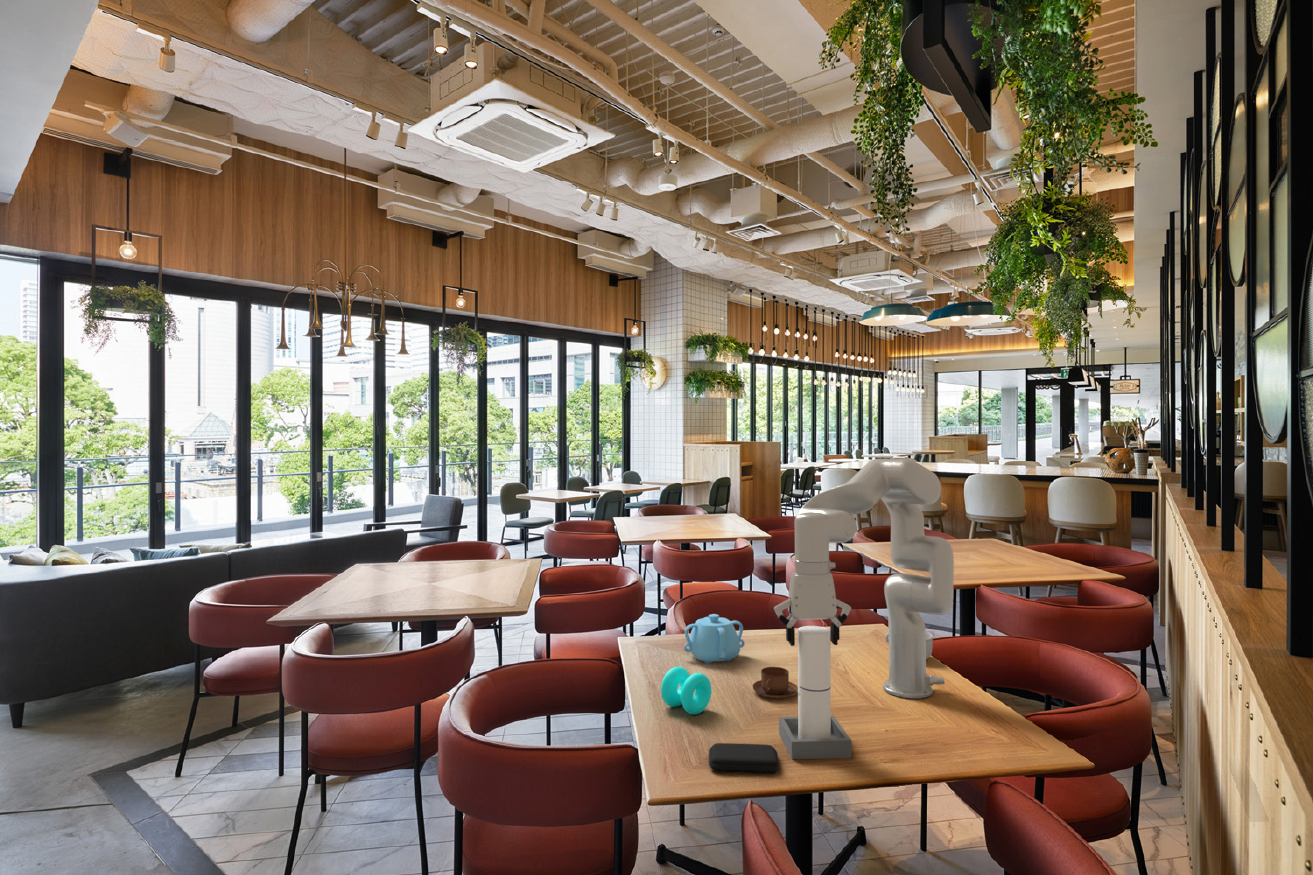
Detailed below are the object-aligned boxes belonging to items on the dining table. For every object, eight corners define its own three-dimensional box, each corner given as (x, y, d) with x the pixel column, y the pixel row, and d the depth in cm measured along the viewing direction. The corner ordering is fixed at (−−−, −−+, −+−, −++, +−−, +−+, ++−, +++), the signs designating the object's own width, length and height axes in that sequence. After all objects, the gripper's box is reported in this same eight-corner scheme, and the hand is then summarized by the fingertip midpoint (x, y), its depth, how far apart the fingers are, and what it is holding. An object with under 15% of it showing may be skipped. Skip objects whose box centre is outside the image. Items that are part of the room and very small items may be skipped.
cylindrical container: (812, 750, 150) (812, 636, 150) (791, 737, 157) (791, 628, 156) (837, 743, 154) (837, 632, 153) (816, 731, 160) (815, 624, 160)
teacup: (936, 656, 215) (936, 631, 215) (929, 666, 206) (929, 640, 206) (890, 649, 223) (890, 624, 223) (882, 659, 214) (881, 633, 214)
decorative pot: (721, 670, 205) (721, 625, 205) (678, 659, 215) (678, 616, 215) (749, 656, 218) (749, 613, 218) (707, 647, 228) (707, 605, 228)
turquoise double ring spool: (685, 698, 183) (685, 661, 183) (714, 709, 176) (713, 670, 176) (658, 709, 176) (658, 670, 176) (687, 720, 169) (687, 680, 169)
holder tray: (833, 731, 162) (833, 715, 162) (851, 757, 149) (851, 740, 149) (779, 733, 161) (778, 717, 161) (791, 759, 148) (791, 741, 148)
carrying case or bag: (776, 753, 152) (709, 751, 153) (776, 739, 152) (709, 737, 153) (780, 777, 141) (708, 775, 142) (780, 762, 141) (708, 760, 142)
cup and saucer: (797, 703, 179) (797, 680, 179) (751, 700, 182) (751, 677, 182) (797, 687, 191) (797, 665, 191) (754, 684, 193) (753, 662, 193)
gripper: (844, 564, 159) (845, 638, 159) (770, 565, 158) (771, 639, 158) (855, 570, 151) (856, 648, 151) (777, 571, 151) (778, 649, 151)
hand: (812, 643), depth 155 cm, fingers open, 9 cm apart
